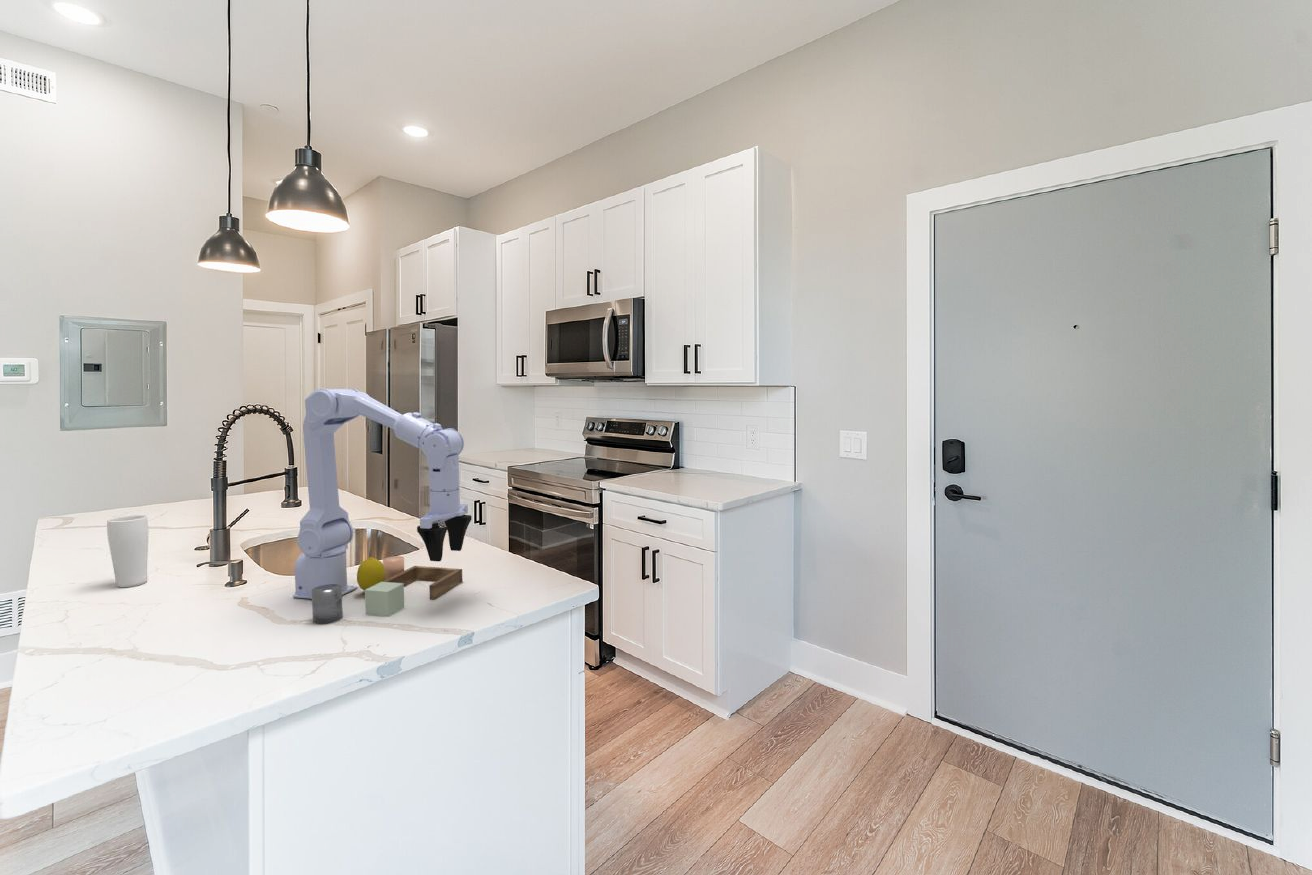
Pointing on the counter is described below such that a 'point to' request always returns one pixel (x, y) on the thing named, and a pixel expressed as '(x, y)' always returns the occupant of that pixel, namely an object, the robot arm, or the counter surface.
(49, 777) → the counter surface
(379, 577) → the lemon
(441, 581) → the corral
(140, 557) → the drinking glass
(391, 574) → the peach rounded cylinder
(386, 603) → the block
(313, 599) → the can
